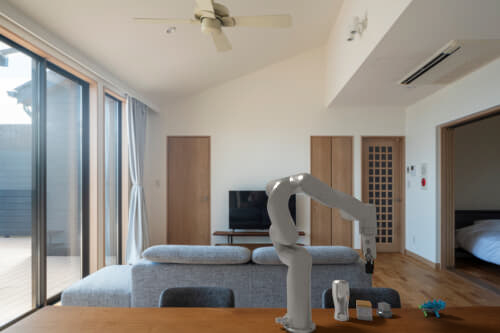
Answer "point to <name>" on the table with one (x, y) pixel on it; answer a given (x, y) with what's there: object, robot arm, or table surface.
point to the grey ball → (384, 310)
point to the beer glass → (341, 299)
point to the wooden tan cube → (364, 310)
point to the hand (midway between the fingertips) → (370, 271)
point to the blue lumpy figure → (432, 306)
